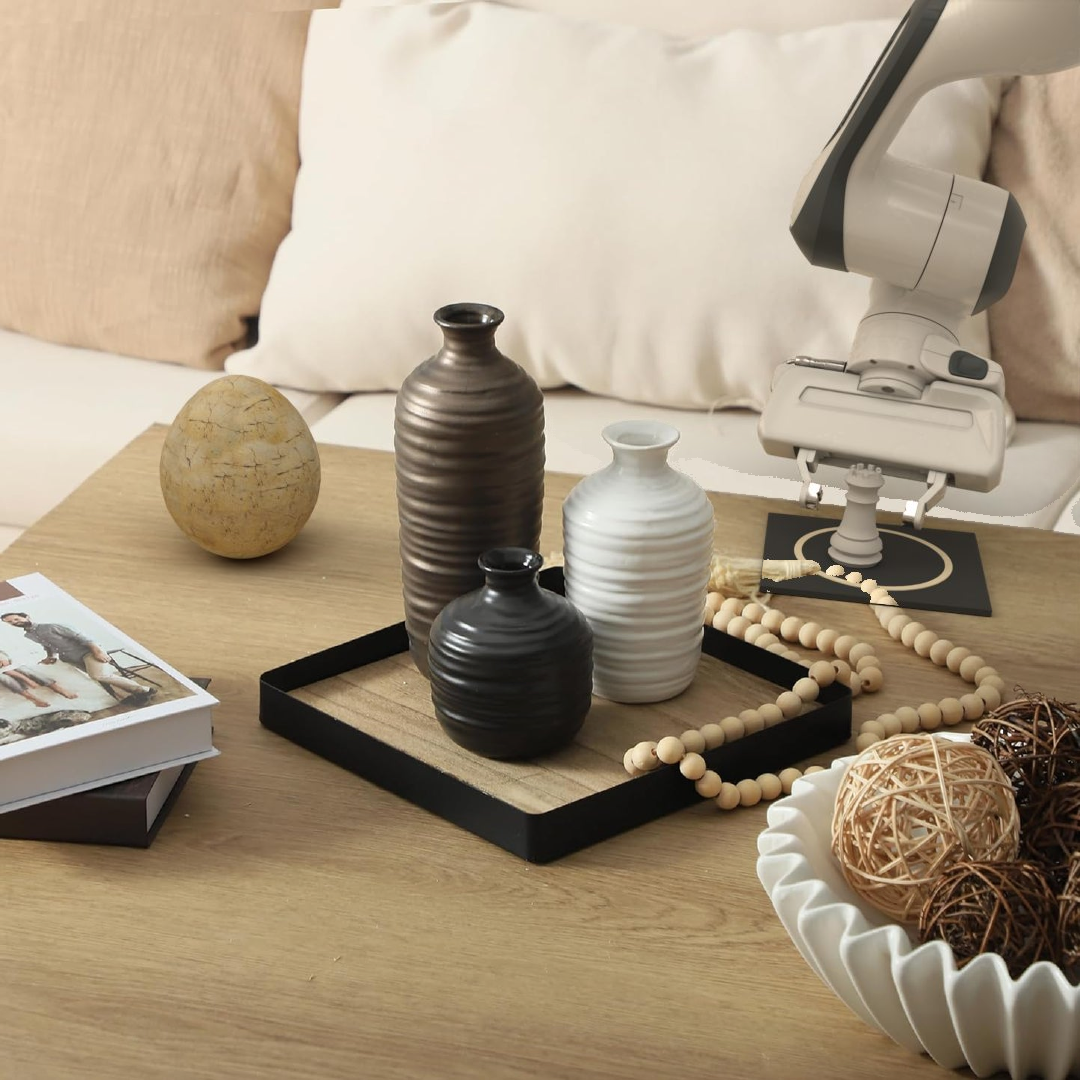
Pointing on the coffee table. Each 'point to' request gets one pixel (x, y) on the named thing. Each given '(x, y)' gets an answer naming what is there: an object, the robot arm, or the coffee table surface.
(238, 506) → the fossilized egg
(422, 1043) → the coffee table surface
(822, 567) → the black circle mat
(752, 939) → the coffee table surface
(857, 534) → the rook chess piece
